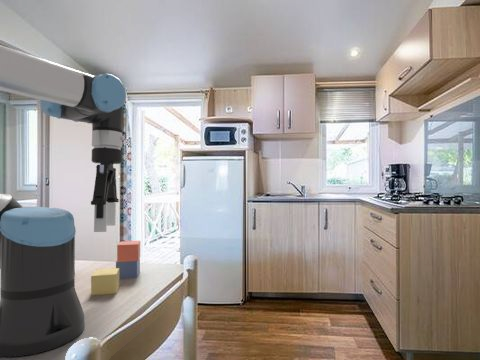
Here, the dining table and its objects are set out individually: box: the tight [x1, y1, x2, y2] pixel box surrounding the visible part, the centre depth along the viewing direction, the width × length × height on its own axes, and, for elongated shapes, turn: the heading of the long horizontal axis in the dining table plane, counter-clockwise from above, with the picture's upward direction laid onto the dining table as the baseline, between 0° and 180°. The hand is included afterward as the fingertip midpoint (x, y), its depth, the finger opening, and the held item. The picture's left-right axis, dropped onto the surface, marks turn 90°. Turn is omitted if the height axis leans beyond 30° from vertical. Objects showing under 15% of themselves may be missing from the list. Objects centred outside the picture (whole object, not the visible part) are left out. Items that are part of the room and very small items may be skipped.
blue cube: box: [115, 257, 141, 279], centre depth 98 cm, size 6×6×5 cm
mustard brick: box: [90, 267, 120, 296], centre depth 84 cm, size 6×6×5 cm
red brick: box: [116, 240, 141, 262], centre depth 98 cm, size 6×6×5 cm
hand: (105, 228), depth 84 cm, fingers open, 13 cm apart
